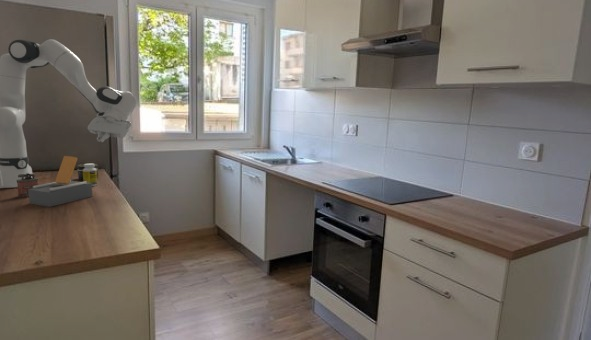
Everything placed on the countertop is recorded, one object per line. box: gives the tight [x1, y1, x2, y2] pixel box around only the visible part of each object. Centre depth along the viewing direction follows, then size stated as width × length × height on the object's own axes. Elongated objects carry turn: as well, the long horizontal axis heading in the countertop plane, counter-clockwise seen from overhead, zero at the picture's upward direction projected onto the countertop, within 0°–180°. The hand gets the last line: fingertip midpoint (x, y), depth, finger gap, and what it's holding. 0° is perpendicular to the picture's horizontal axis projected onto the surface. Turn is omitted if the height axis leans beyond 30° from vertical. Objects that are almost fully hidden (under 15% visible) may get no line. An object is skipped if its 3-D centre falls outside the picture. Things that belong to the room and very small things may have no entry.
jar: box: [76, 163, 99, 181], centre depth 211 cm, size 10×10×8 cm
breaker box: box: [28, 179, 93, 208], centre depth 165 cm, size 12×20×7 cm, turn 158°
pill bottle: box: [82, 162, 98, 187], centre depth 194 cm, size 6×6×11 cm
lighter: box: [16, 173, 39, 198], centre depth 172 cm, size 8×3×10 cm, turn 135°
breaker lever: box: [54, 155, 78, 185], centre depth 167 cm, size 6×2×12 cm, turn 68°
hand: (99, 141), depth 181 cm, fingers closed
